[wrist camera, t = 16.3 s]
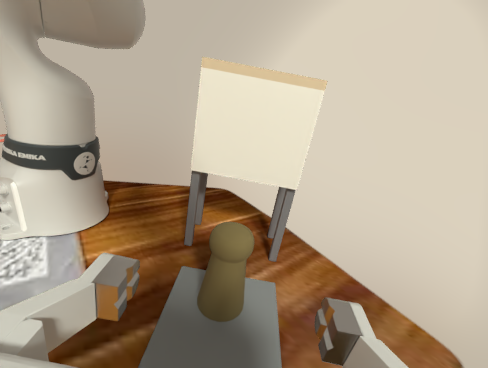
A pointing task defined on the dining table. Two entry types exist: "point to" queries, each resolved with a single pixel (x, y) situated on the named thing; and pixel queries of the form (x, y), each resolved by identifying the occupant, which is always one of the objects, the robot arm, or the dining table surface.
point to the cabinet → (252, 134)
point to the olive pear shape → (225, 272)
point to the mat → (215, 330)
